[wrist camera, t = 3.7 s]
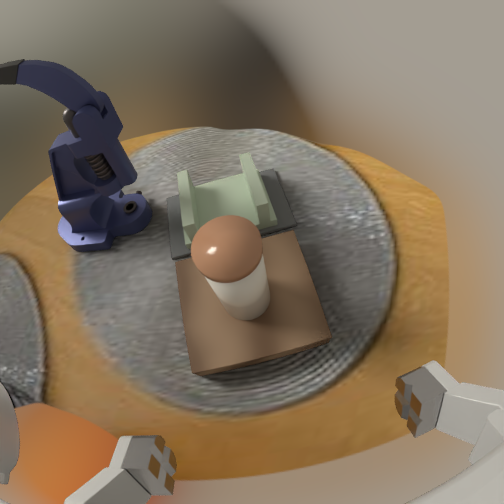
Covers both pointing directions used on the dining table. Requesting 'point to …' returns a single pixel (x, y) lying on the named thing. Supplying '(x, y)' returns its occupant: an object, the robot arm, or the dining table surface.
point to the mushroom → (233, 265)
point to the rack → (225, 199)
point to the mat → (283, 222)
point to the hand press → (85, 159)
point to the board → (261, 328)
